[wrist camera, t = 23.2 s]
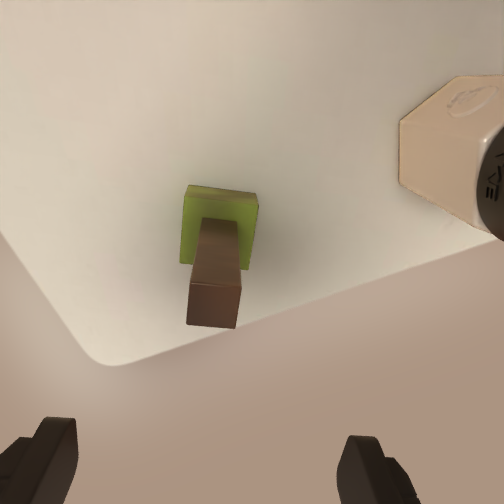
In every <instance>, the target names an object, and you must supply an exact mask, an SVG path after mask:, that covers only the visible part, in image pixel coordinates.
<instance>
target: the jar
mask: <svg viewBox="0 0 504 504" xmlns="http://www.w3.org/2000/svg"><path fill="white" fill-rule="evenodd" d="M399 183H400V184H401V185H402V186H404V187H406V188H407V189H409V190H411V191H413V192H414V193H416V194H418V195H420V196H421V197H423V198H425V199H426V200H428V201H430V202H432V203H433V204H435V205H437V206H438V207H440V208H442V209H444V210H445V211H447V212H449V213H450V214H452V215H454V216H456V217H457V218H459V219H461V220H462V221H464V222H466V223H467V224H469V225H471V226H473V227H475V228H478V229H480V230H483V231H486V232H488V233H491V234H493V235H495V236H496V237H497V238H499V239H500V240H502V241H504V75H481V76H457V77H455V78H454V79H453V80H451V81H450V82H449V83H448V84H446V85H445V86H444V87H442V88H441V89H440V90H439V91H437V92H436V93H435V94H433V95H432V96H431V97H430V98H428V99H427V100H426V101H425V102H423V103H422V104H421V105H419V106H418V107H417V108H416V109H414V110H413V111H412V112H411V113H409V114H408V115H407V116H405V117H404V118H403V119H402V120H401V121H400V124H399Z"/></svg>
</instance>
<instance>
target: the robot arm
mask: <svg viewBox="0 0 504 504" xmlns="http://www.w3.org/2000/svg"><path fill="white" fill-rule="evenodd" d="M77 462H78V442H77V429H76V420H75V419H74V418H60V417H46V418H44V419H43V421H42V422H41V423H40V425H39V427H38V429H37V431H36V433H35V434H34V436H33V438H28V437H19V438H18V439H17V440H16V441H15V442H14V443H13V444H11V445H10V446H9V447H8V448H7V449H6V450H5V451H4V452H3V453H1V454H0V504H63V503H64V500H65V498H66V495H67V493H68V490H69V488H70V485H71V483H72V480H73V478H74V475H75V471H76V467H77ZM337 487H338V492H339V496H340V500H341V504H421V503H420V501H419V499H418V498H417V496H416V495H417V494H416V492H415V490H414V487H413V485H412V483H411V481H410V478H409V476H408V475H407V473H406V472H405V471H404V469H403V468H402V467H401V466H400V465H399V463H398V462H397V461H396V460H395V459H394V458H390V457H385V456H384V453H383V451H382V448H381V446H380V443H379V441H378V440H377V439H376V438H375V437H372V436H371V437H370V436H354V435H351V436H349V437H348V439H347V442H346V445H345V448H344V450H343V454H342V456H341V459H340V462H339V465H338V468H337Z"/></svg>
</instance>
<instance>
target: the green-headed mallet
mask: <svg viewBox="0 0 504 504" xmlns="http://www.w3.org/2000/svg"><path fill="white" fill-rule="evenodd" d="M258 208H259V205H258V201H257V197H256V194H255V193H248V192H240V191H233V190H225V189H217V188H209V187H202V186H194V185H189V186H188V188H187V191H186V193H185V196H184V206H183V220H182V233H181V246H180V260H179V262H180V263H183V264H193V268H192V273H191V279H190V285H189V296H188V307H187V318H186V324H187V325H194V326H206V327H218V328H230V329H235V327H236V321H237V315H238V308H239V302H240V296H241V289H242V285H241V270H248V269H249V263H250V257H251V251H252V245H253V239H254V232H255V226H256V220H257V214H258ZM240 269H241V270H240Z"/></svg>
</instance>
